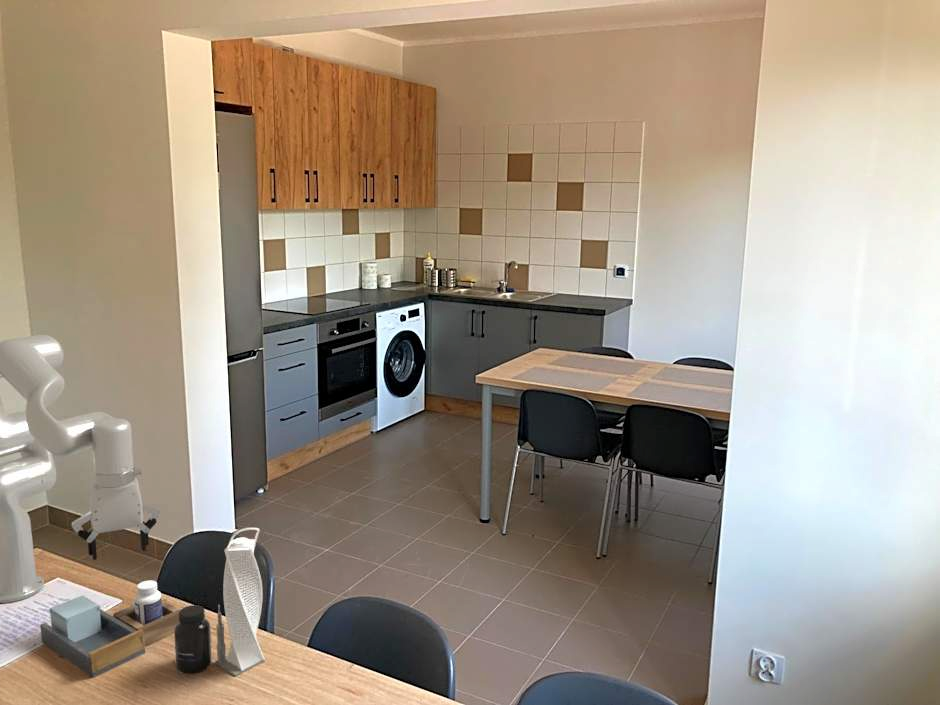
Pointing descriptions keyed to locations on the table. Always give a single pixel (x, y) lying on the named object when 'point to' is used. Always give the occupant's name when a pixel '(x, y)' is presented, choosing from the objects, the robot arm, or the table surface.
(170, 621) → the open wooden box
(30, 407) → the robot arm
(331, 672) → the table surface
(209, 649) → the supplement bottle
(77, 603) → the pale teal block
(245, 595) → the skyscraper
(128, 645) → the bay
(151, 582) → the pill bottle
